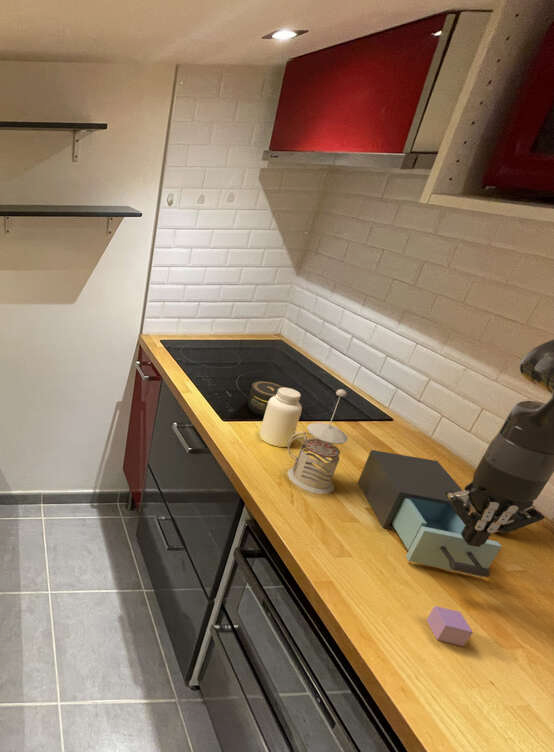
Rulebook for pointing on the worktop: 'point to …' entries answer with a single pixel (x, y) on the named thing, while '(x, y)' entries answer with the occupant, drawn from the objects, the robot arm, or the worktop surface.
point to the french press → (307, 472)
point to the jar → (261, 396)
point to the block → (449, 626)
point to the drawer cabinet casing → (403, 483)
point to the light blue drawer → (440, 538)
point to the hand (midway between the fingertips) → (470, 542)
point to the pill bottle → (281, 417)
